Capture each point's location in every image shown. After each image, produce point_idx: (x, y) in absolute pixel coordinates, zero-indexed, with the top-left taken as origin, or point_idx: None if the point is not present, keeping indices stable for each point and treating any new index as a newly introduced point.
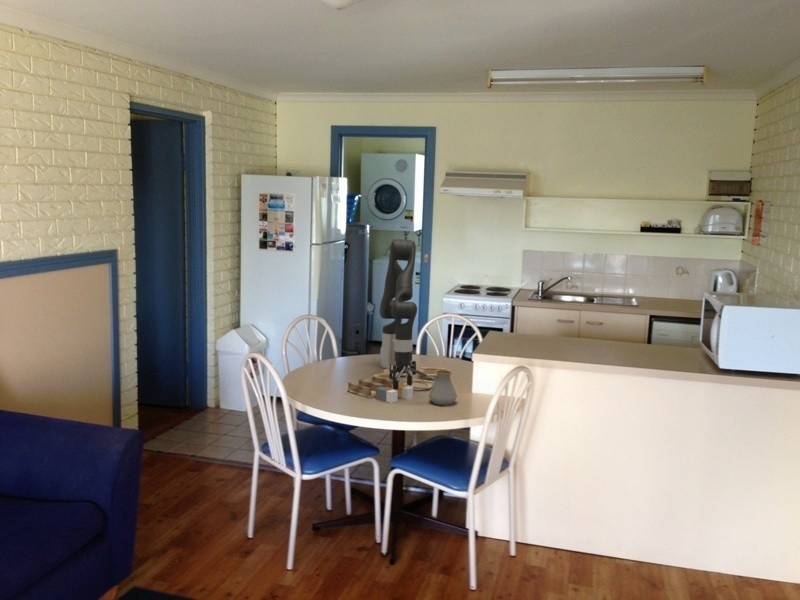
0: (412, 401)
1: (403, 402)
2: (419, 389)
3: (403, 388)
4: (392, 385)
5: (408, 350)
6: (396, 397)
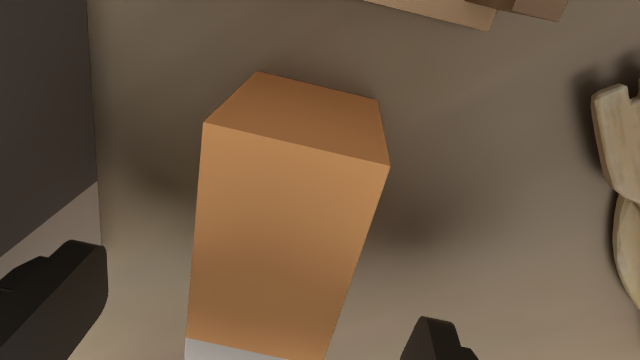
0: None
1: (123, 300)
2: (626, 289)
3: (187, 349)
4: (204, 142)
5: None
6: None
